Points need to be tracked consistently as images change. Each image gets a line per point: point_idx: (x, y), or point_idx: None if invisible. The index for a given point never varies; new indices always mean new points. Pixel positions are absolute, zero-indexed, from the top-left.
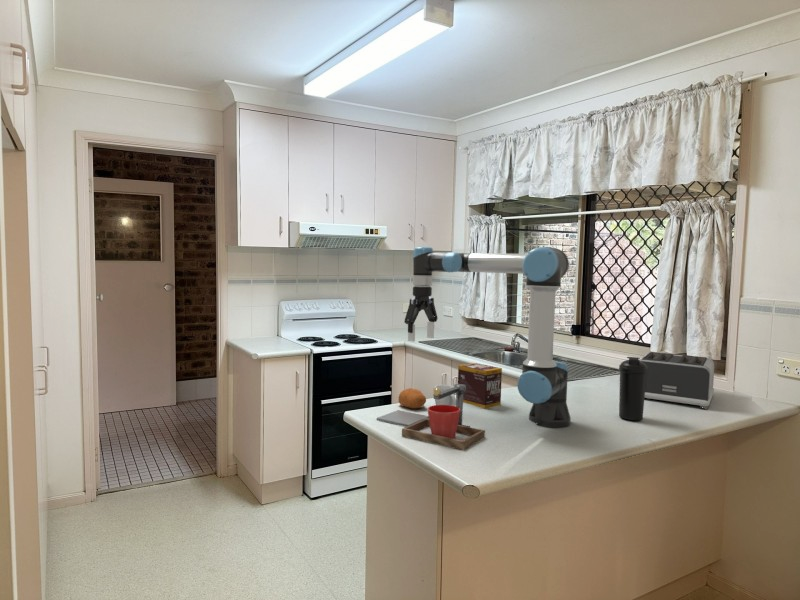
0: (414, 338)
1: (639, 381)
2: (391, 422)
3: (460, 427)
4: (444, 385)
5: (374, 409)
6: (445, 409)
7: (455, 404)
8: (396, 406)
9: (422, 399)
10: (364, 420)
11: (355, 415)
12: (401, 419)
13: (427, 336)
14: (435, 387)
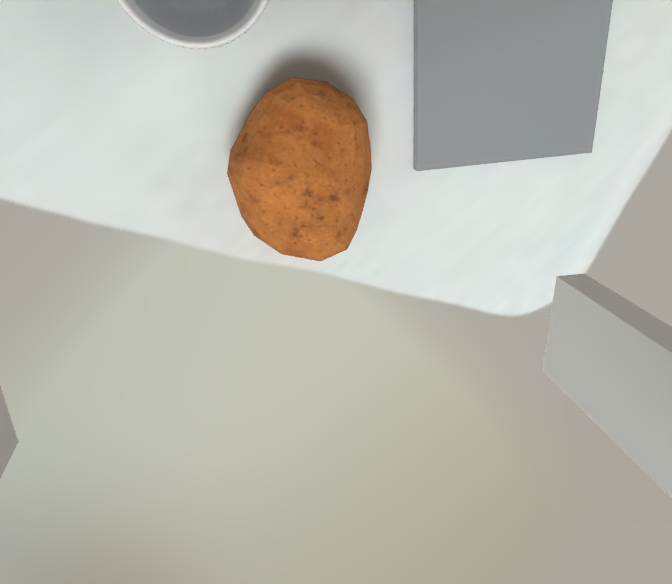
0: (594, 293)
1: None
2: (601, 57)
3: None
4: (127, 3)
5: (441, 280)
6: None
7: None
8: None
9: (322, 84)
10: (611, 188)
11: (566, 269)
12: (555, 36)
13: (10, 446)
14: (261, 13)
